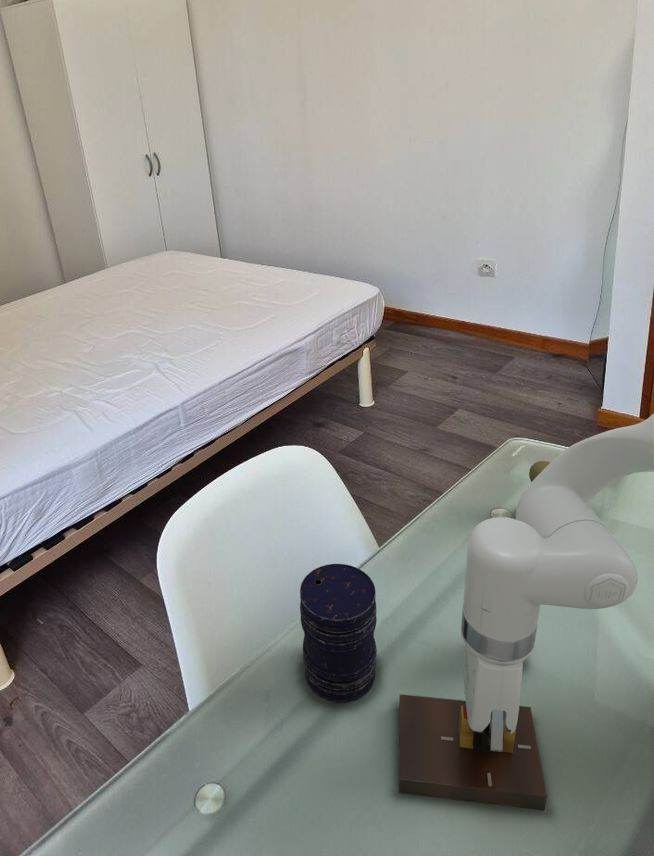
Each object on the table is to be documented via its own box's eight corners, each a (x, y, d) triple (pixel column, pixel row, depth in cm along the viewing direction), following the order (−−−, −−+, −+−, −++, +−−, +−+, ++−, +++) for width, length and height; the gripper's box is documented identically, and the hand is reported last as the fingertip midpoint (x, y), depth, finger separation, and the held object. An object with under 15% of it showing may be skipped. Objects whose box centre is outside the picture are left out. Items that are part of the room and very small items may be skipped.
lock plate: (528, 720, 86) (530, 706, 85) (544, 810, 76) (547, 795, 75) (399, 707, 89) (399, 693, 88) (398, 792, 79) (399, 778, 78)
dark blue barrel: (389, 661, 95) (390, 580, 88) (355, 717, 88) (353, 633, 81) (326, 632, 100) (323, 553, 94) (290, 682, 93) (283, 600, 87)
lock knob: (510, 738, 81) (514, 709, 79) (512, 753, 80) (517, 723, 77) (458, 733, 82) (461, 703, 80) (459, 747, 81) (462, 717, 78)
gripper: (456, 569, 80) (448, 678, 88) (468, 687, 66) (457, 803, 74) (523, 574, 79) (509, 683, 87) (549, 695, 65) (530, 812, 73)
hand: (485, 738), depth 81 cm, fingers closed on lock knob, 2 cm apart
